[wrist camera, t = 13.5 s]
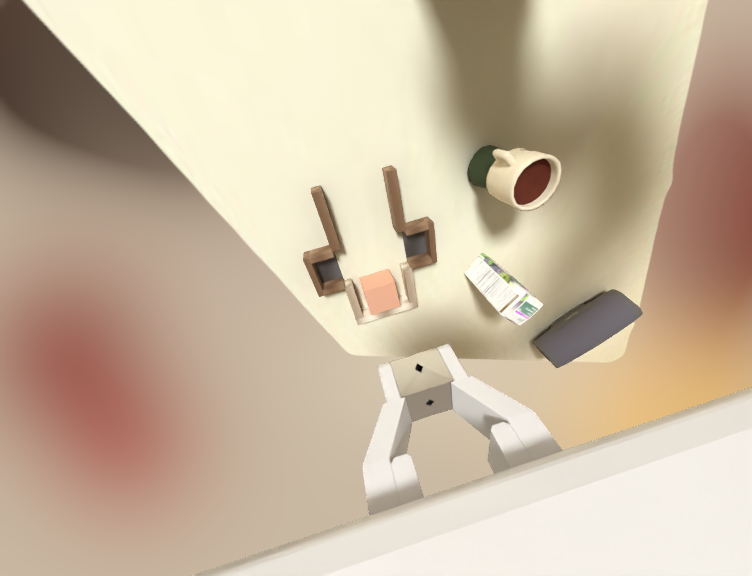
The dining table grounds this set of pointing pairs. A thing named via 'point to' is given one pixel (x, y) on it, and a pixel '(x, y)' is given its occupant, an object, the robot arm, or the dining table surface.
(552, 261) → the dining table surface
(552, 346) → the bluetooth speaker
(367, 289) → the terracotta block
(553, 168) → the character mug
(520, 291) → the syrup box
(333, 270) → the trap channel
